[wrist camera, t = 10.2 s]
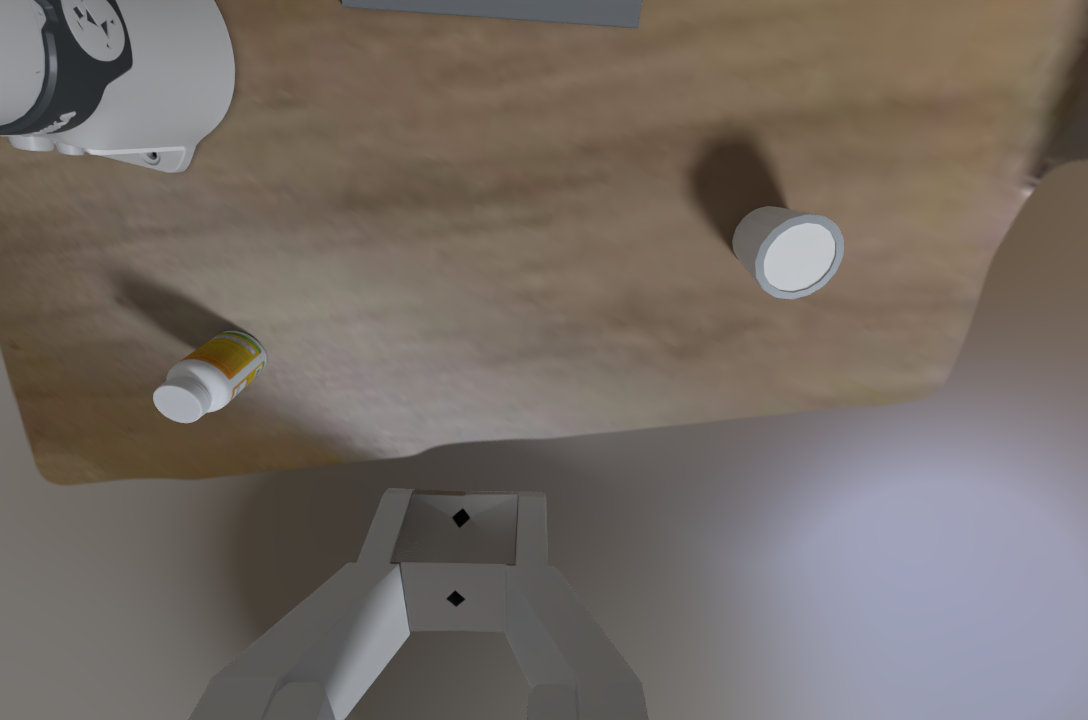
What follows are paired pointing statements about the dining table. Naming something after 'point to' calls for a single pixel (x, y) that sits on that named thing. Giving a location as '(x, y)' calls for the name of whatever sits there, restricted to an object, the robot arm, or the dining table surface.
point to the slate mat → (521, 9)
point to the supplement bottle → (210, 376)
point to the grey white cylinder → (788, 250)
